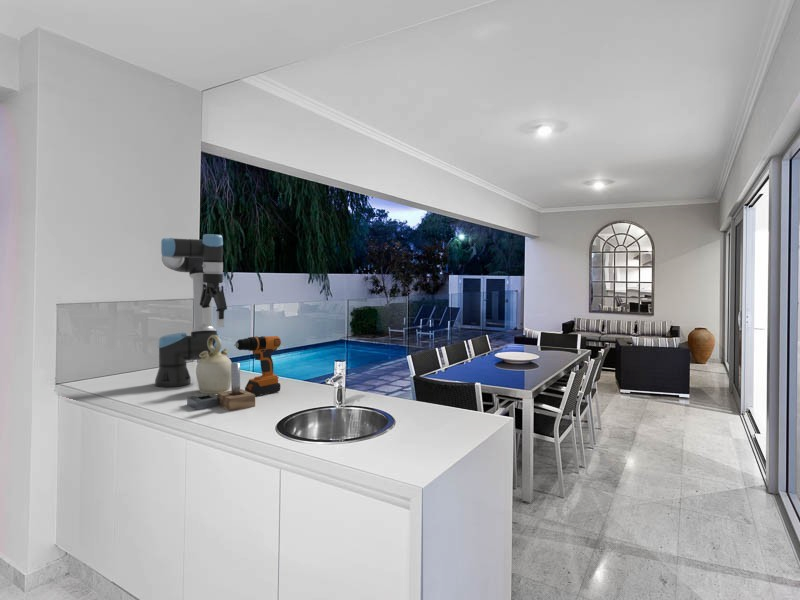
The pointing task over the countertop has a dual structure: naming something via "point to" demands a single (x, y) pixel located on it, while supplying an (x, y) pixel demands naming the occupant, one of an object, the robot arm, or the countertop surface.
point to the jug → (214, 369)
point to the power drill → (262, 363)
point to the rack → (236, 400)
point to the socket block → (203, 401)
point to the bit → (235, 378)
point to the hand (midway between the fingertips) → (213, 325)
